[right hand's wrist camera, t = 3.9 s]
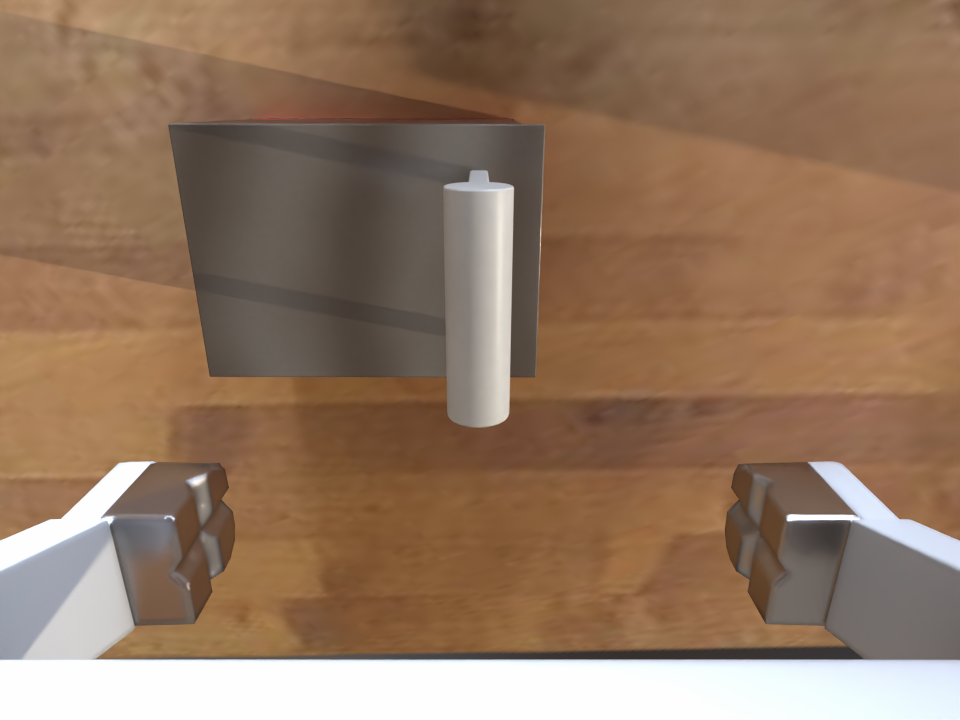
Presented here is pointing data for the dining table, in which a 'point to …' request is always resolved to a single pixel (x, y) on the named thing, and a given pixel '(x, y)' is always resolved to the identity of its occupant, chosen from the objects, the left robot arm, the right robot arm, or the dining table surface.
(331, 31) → the dining table surface
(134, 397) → the dining table surface
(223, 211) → the lid
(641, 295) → the dining table surface
